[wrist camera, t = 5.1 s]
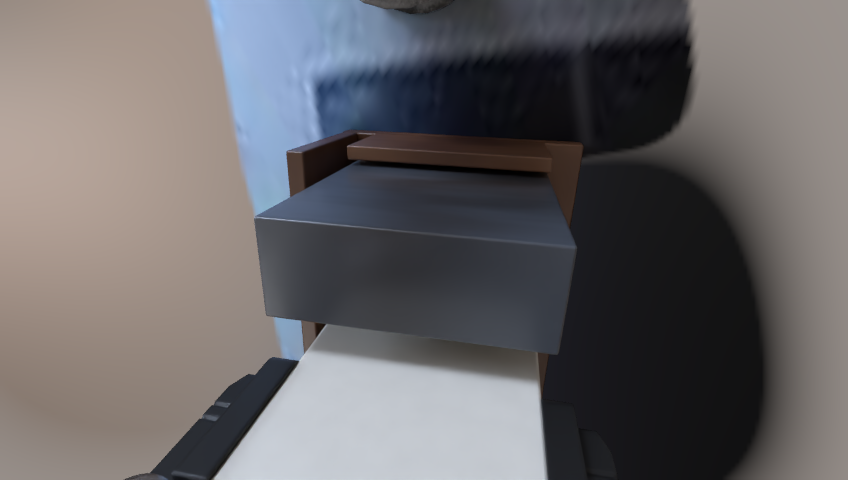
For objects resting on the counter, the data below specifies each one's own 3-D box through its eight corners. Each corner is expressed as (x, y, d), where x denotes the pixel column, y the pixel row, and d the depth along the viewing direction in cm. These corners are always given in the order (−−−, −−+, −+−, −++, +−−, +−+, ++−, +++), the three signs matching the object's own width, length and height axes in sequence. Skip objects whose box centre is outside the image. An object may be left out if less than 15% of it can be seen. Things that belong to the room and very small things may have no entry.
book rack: (581, 142, 17) (735, 279, 5) (521, 508, 25) (532, 887, 13) (348, 129, 19) (83, 213, 7) (360, 477, 27) (243, 790, 15)
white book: (529, 260, 17) (562, 618, 6) (524, 303, 17) (542, 694, 6) (383, 245, 18) (173, 525, 7) (384, 287, 18) (196, 601, 7)
